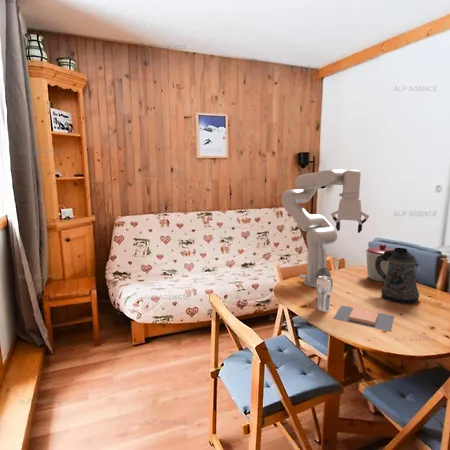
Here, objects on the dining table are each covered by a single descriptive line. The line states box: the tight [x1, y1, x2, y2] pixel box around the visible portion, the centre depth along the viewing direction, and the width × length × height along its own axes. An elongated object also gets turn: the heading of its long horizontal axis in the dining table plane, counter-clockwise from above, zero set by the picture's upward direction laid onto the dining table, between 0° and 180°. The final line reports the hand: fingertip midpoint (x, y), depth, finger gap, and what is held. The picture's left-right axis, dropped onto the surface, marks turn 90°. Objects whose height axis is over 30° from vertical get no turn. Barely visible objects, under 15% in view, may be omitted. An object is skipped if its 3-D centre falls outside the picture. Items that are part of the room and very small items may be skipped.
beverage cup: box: [316, 259, 332, 280], centre depth 157 cm, size 7×7×20 cm
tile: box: [349, 307, 379, 325], centre depth 136 cm, size 10×2×10 cm
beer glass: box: [315, 276, 334, 313], centre depth 145 cm, size 7×7×15 cm
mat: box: [332, 305, 395, 333], centre depth 137 cm, size 22×16×1 cm
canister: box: [364, 243, 395, 283], centre depth 185 cm, size 18×18×21 cm
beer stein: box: [375, 247, 420, 306], centre depth 157 cm, size 16×19×25 cm
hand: (348, 231), depth 156 cm, fingers open, 9 cm apart
